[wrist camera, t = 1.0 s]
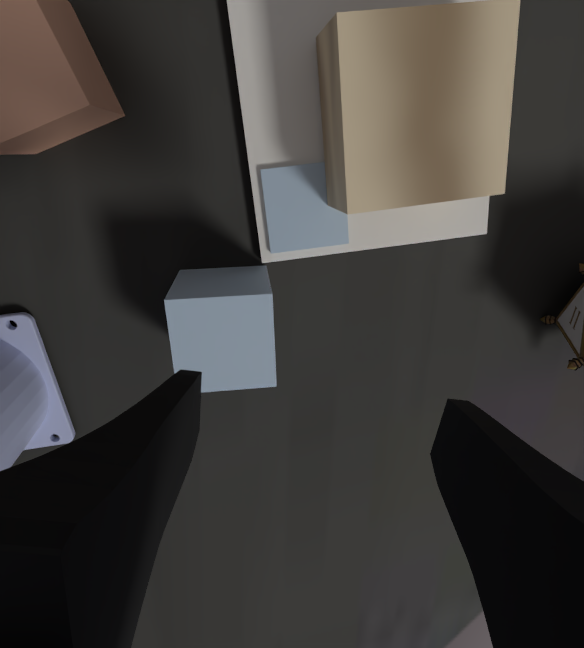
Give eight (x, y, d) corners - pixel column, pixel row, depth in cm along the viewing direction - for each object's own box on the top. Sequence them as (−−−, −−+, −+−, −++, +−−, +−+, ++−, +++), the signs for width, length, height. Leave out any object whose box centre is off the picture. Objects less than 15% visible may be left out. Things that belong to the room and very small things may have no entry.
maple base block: (327, 205, 21) (347, 214, 18) (315, 37, 18) (336, 12, 15) (462, 188, 22) (504, 193, 19) (469, 24, 19) (520, -3, 16)
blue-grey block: (189, 347, 24) (177, 394, 19) (179, 269, 22) (163, 300, 18) (269, 342, 25) (276, 386, 20) (266, 265, 23) (272, 293, 18)
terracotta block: (36, 154, 20) (-27, 155, 15) (-27, 46, 18) (-120, 10, 13) (125, 116, 20) (89, 104, 15) (70, 3, 18) (11, -49, 13)
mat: (261, 260, 23) (262, 264, 22) (224, -19, 18) (223, -27, 17) (480, 231, 23) (489, 234, 23) (497, -43, 19) (509, -52, 18)
